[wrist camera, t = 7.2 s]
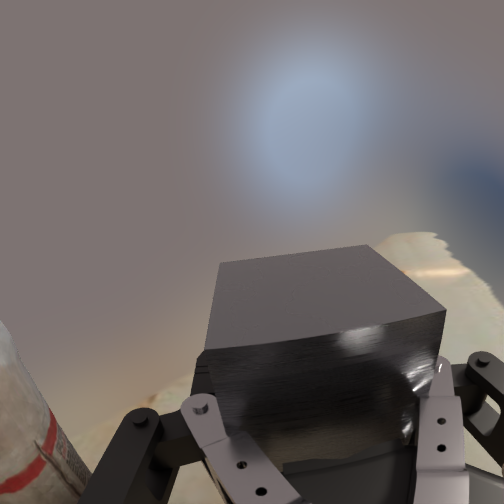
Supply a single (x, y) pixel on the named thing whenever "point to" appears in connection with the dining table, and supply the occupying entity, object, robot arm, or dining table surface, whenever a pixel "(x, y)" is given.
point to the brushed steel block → (320, 351)
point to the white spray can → (33, 440)
